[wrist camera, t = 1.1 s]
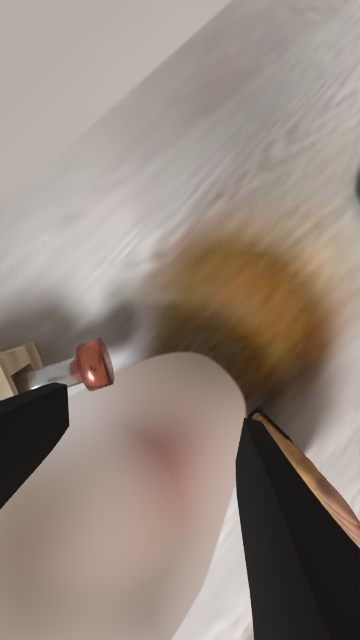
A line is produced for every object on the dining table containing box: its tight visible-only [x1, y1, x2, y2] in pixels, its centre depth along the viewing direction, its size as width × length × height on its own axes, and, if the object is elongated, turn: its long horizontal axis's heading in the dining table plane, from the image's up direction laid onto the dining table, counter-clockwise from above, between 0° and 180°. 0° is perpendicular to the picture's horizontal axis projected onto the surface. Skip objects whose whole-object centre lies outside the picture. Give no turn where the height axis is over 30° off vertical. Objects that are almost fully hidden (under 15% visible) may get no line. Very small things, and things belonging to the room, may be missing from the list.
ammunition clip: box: [248, 409, 360, 548], centre depth 21 cm, size 11×2×12 cm, turn 35°
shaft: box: [11, 338, 114, 394], centre depth 17 cm, size 8×4×4 cm, turn 105°
